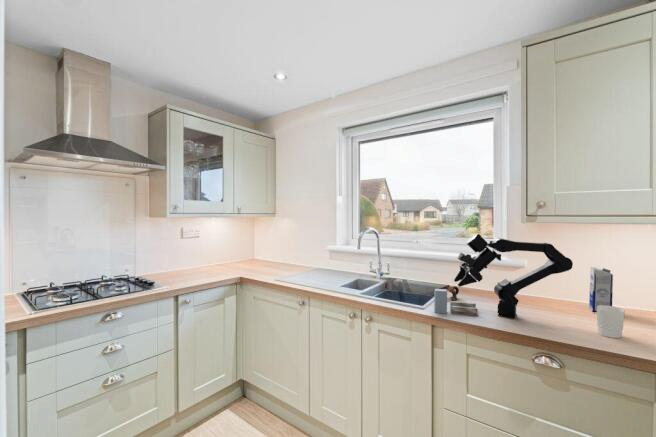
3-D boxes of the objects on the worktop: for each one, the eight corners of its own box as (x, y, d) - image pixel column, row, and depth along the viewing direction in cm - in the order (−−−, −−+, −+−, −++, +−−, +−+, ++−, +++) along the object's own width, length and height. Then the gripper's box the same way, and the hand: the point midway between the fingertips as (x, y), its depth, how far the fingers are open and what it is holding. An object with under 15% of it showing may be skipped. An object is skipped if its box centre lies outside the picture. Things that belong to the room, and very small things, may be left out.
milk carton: (589, 308, 153) (590, 266, 153) (607, 310, 150) (608, 267, 149) (592, 312, 147) (594, 268, 146) (611, 315, 144) (613, 270, 143)
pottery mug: (449, 303, 163) (441, 288, 165) (438, 306, 171) (431, 292, 173) (466, 294, 167) (458, 280, 170) (455, 298, 176) (448, 284, 178)
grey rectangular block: (445, 310, 150) (445, 289, 149) (446, 313, 146) (447, 291, 146) (434, 310, 151) (434, 288, 150) (435, 312, 147) (435, 290, 147)
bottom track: (475, 309, 151) (475, 303, 151) (477, 315, 143) (477, 308, 143) (450, 307, 155) (450, 301, 155) (450, 312, 147) (450, 306, 147)
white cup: (620, 340, 116) (621, 313, 116) (592, 333, 123) (593, 307, 122) (626, 335, 121) (627, 309, 120) (599, 329, 127) (600, 304, 127)
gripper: (465, 244, 154) (440, 266, 157) (474, 249, 136) (446, 274, 138) (482, 261, 153) (457, 283, 155) (494, 268, 135) (466, 293, 137)
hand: (456, 283), depth 147 cm, fingers open, 9 cm apart
